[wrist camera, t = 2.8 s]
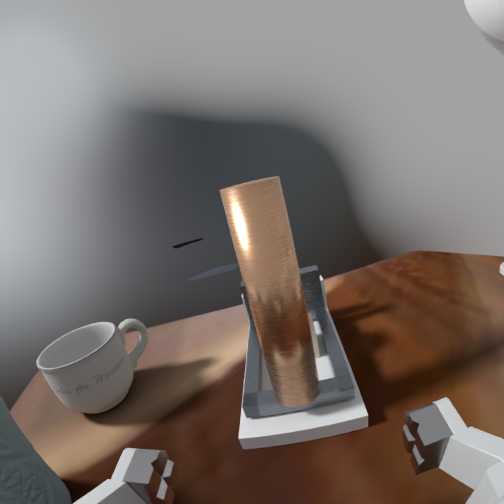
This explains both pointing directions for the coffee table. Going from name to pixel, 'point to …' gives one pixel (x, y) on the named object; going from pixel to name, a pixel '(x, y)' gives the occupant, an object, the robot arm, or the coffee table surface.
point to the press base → (307, 420)
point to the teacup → (92, 365)
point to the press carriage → (280, 307)
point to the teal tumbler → (25, 469)
